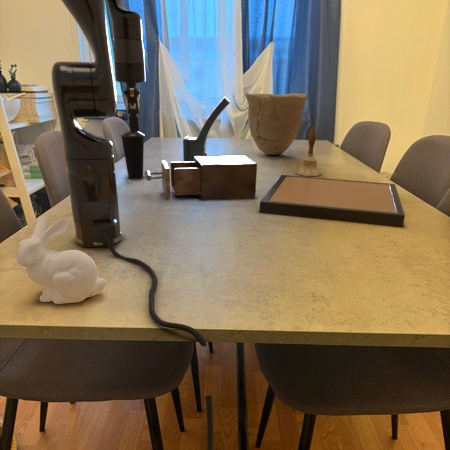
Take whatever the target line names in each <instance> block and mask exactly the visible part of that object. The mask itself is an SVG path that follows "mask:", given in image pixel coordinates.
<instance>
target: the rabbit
mask: <svg viewBox="0 0 450 450" xmlns="http://www.w3.org/2000/svg"><path fill="white" fill-rule="evenodd" d="M49 224H50V218H49V216H48V215H46V214H42V215H40V216H39V217H37V219H36V222H35V225H34V228H33V230H32V231H33V232H32V235H31V236H30V237H28V238H24V239H22V240H20V242H19V244H18V249H17V257H16V263H17V264H18V265H19V266H20V267H25V272H26V274H27V276H28V278H29V280H31V281H32V282H33V283H34V284H36V285H39V286H41V287H44V288H43V290H42V291H41V292H42V294H40V296H39V302H41V303H48V302H49V303H50V302H53V303H54V304H55V305H62V304H75V303H81V302H83V301H84V300H85V299H87V298H91V297H94V296H96V295H99V294H100V293H102V292H103V291H104V290H105V287H106V280H105V278H101V277H99V272H98V267H97V265H96V263H95V261H94V259H92V257H91V256H90V255H89V254H87V253H86V252H84V251H81V250H80V249H79V250H78V249H66V250H62V251H57V250H55V249H49V248H48V247H47V246H46V243H49V242H50V241H51V240H53V239H55V238H57V237H59V236H61V235H63V234H64V233H66V232H67V230H68V229H69V227H70V221H69V220H68V219H67V218H64V217H61V218H60V219H58V220H57V221H55V222H54V223H53V224H51V225H49Z"/></svg>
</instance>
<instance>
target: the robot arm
mask: <svg viewBox="0 0 450 450" xmlns="http://www.w3.org/2000/svg"><path fill="white" fill-rule="evenodd" d="M60 2H62V4H63V5H64V7H65V8H66V9H67V11H68V12H69V13H70V15H71V16H72V17H73V19H74V20H75V22H76V24H77V25H78V28H79V29H80V30H81V31H82V34H83V36H84V37H85V39H86V41H87V43H88V45H89V47H90V51H91V53H92V55H93V59H94V61H91V62H90V61H56V62H54V64H53V65H52V68H51V84H52V85H51V86H52V91H53V97H54V102H55V106H56V111H57V116H58V121H59V127H60V134H61V141H62V149H63V154H64V155H63V157H64V162H65V169H66V176H67V184H68V190H69V199H70V205H71V212H72V218H73V219H72V220H73V225H74V232H75V242H76V243H77V244H78V245H80V246H82V248H101V247H102V248H103V247H108V249H109V251H110V252H111V253H112V255H114V257H115V258H117V259H120V260H123V261H126V262H128V263H132V264H136V265H139V266H141V267H142V268H143V269H145V270H146V271H147V272H148V274H150V276H151V279H152V282H151V286H150V289H149V292H148V312H149V315H150V317H151V319H152V320H153V321H154V322H155V323H156V324H157V325H159V326H161V327H163V328H167V329H173V330H179V331H184V332H186V333H188V334H189V335H192V337H194V338H195V339H196V340H197V342H198V343H199V345H200V346H202V347H207V346H208V345H207V342H206V340H205V338H204V337H203V336H202V334H201V333H200V332H199V331H198V330H197V329H195V328H193V327H192V326H190V325H187V324H183V323H179V322H178V323H177V322H171V321H167V320H166V321H165V320H163V319H161V317H159V315H158V314H157V313H156V311H155V310H156V309H155V293H156V289H157V286H158V277H157V275H156V272H155V271H154V269H153V268H152V267H151V266H150V265H148V264H147V263H145V262H144V261H142V260H141V259H138V258H133V257H127V256H123V255H122V254H120V253H119V252H117V251H116V250H115V248H114V246H115V244H117V243H119V242H120V241H122V239H123V236H122V235H123V234H122V229H121V220H120V209H119V197H118V187H117V176H116V164H115V155H114V154H115V153H114V146H113V142H112V141H111V139H108V138H107V137H105V136H101V135H98V134H94V133H93V132H90V131H88V130H87V129H85V128H84V127H82V126H81V125H80V124H79V122H78V119H109V118H113V117H114V116H115V114H116V113H117V112H116V111H117V89H116V82H117V83H124V84H126V86H125V89H124V90H123V98H124V100H125V108H126V109H127V115H128V123H129V131H131V132H140V129H139V115H140V110H139V109H140V107H141V106H140V99H141V94H140V93H141V92H140V90H138V88H137V84H139V83H140V84H141V83H142V84H144V83H146V79H147V77H146V62H145V60H146V59H145V48H144V42H143V24H142V17H141V15H140V14H139V13H138V12H137V11H134V10H130V9H126V8H125V7H124V5H123V3H122V0H60ZM106 3H107V7H108V11H109V16H110V19H111V27H112V39H113V41H112V42H113V45H112V46H113V47H112V51H113V53H112V54H113V60H112V54H111V46H110V39H109V33H108V31H109V30H108V24H107V13H106ZM113 63H114V67H113ZM212 397H213V396H212V395H205V405H206V439H207V440H206V442H207V443H206V445H207V447H206V450H214V420H213V419H214V418H213V416H214V415H213V399H212Z"/></svg>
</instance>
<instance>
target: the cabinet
mask: <svg viewBox="0 0 450 450" xmlns="http://www.w3.org/2000/svg"><path fill="white" fill-rule="evenodd" d="M194 162H197V163H198V164H199V166H200V167H201V195H198V197H199V198H200V200H201V201H219V200H223V201H225V200H252V199H256V190H257V189H256V188H257V174H258V173H257V172H258V163H257V162H256V161H253V160H252V159H251V158H250V157H248V156H247V155H219V156H218V155H214V156H213V155H210V156H208V155H207V156H198V157H194Z"/></svg>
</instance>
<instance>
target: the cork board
mask: <svg viewBox="0 0 450 450" xmlns="http://www.w3.org/2000/svg"><path fill="white" fill-rule="evenodd" d="M259 213H261V214H270V215H271V214H272V215H282V216H289V217H290V216H291V217H299V218H300V217H301V218H309V219H310V218H311V219H318V220H319V219H321V220H331V221H341V222H351V223H352V222H353V223H358V224H370V225H371V224H372V225H379V226H389V227H400V228H403V226H404V222H405V216H406V215H405V211H404V208H403V205H402V202H401V199H400V196H399V192H398V189H397V186H396V183H390V182H377V181H365V180H364V181H363V180H352V179H351V180H350V179H341V178H340V179H339V178H328V177H327V178H326V177H316V176H301V175H290V174H289V175H288V174H280V176H279V177H278V179H277V180H276V181H275V182H274V184H273V185H272V186H271V187H270V189H269V190H268V191H267V192H266V194H265V195H264V196H263V198H262V199H261V200H260V201H259Z"/></svg>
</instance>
